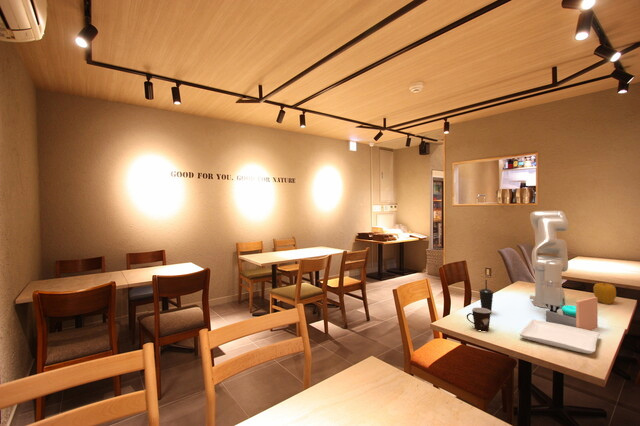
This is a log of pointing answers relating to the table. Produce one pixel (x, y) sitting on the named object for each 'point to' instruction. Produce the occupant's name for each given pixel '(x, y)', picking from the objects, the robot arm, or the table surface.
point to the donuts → (569, 310)
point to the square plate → (561, 336)
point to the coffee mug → (481, 318)
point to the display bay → (578, 315)
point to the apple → (604, 292)
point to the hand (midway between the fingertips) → (553, 316)
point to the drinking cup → (486, 297)
